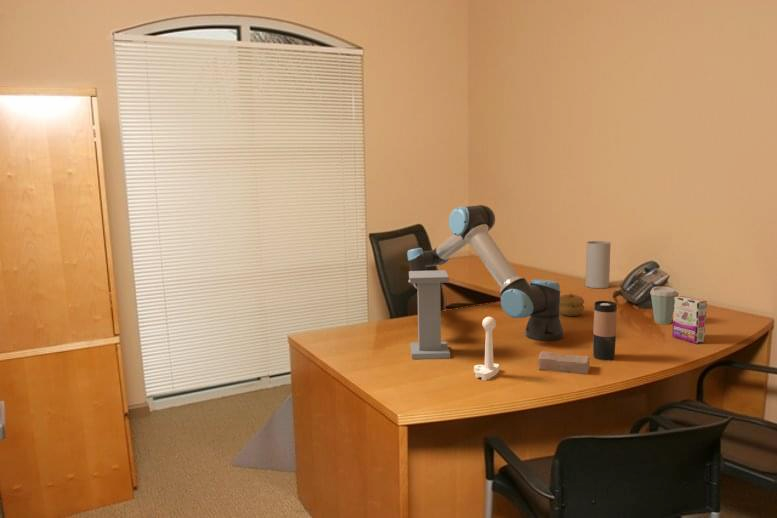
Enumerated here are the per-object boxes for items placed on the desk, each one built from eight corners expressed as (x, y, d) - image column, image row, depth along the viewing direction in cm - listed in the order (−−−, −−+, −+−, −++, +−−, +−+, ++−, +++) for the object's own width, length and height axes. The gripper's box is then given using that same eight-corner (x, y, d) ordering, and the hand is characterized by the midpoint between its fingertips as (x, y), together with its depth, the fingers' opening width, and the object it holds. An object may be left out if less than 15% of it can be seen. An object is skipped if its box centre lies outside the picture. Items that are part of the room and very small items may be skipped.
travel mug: (614, 354, 215) (616, 301, 212) (615, 361, 208) (617, 306, 204) (592, 353, 217) (594, 300, 214) (592, 359, 210) (594, 305, 207)
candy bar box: (705, 342, 226) (707, 300, 224) (695, 344, 224) (698, 302, 222) (680, 335, 236) (682, 295, 234) (671, 336, 234) (673, 296, 232)
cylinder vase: (589, 283, 340) (590, 240, 336) (611, 285, 332) (613, 241, 328) (582, 287, 330) (583, 243, 326) (605, 289, 322) (606, 244, 318)
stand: (410, 346, 231) (408, 271, 226) (446, 345, 231) (445, 270, 226) (411, 359, 215) (410, 278, 211) (450, 358, 215) (449, 277, 211)
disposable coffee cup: (678, 326, 249) (680, 291, 247) (651, 325, 251) (653, 290, 249) (672, 319, 260) (673, 286, 257) (645, 318, 262) (647, 285, 259)
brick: (589, 367, 203) (589, 354, 202) (588, 375, 195) (588, 362, 195) (540, 363, 209) (540, 350, 208) (537, 370, 201) (537, 357, 201)
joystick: (488, 381, 192) (488, 321, 189) (467, 376, 196) (466, 318, 193) (501, 370, 201) (502, 314, 198) (481, 367, 205) (481, 311, 202)
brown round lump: (580, 311, 277) (581, 291, 275) (586, 318, 265) (587, 296, 264) (555, 311, 278) (555, 291, 276) (560, 318, 267) (560, 296, 265)
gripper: (441, 288, 267) (447, 288, 243) (403, 289, 266) (406, 289, 243) (440, 272, 267) (447, 270, 244) (403, 273, 267) (405, 271, 243)
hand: (426, 279), depth 243 cm, fingers closed on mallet, 4 cm apart
